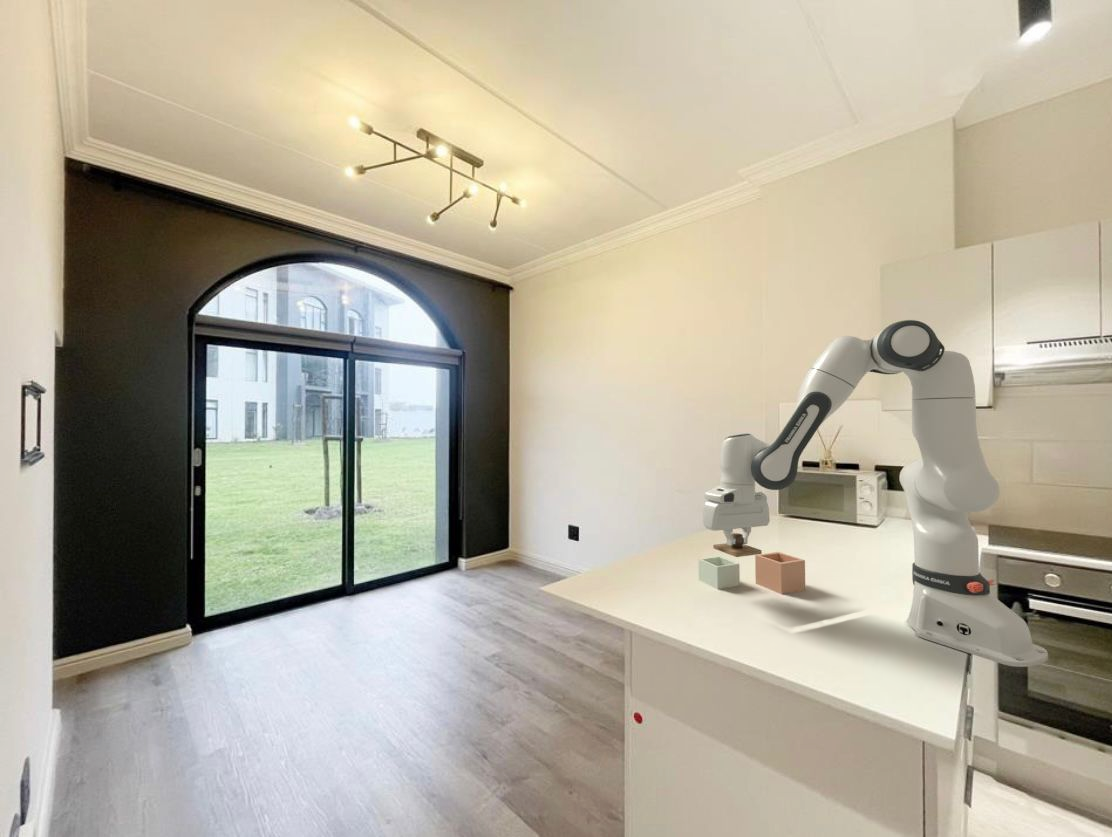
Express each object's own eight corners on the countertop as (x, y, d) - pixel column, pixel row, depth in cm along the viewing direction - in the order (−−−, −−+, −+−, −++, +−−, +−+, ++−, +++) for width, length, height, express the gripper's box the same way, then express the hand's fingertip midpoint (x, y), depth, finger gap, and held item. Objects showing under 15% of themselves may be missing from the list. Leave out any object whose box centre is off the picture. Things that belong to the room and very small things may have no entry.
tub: (739, 588, 127) (739, 563, 127) (717, 591, 124) (717, 567, 124) (720, 579, 134) (719, 556, 135) (698, 582, 132) (698, 559, 132)
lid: (761, 553, 117) (761, 537, 117) (736, 557, 114) (736, 539, 114) (737, 545, 125) (737, 529, 125) (713, 548, 122) (713, 532, 122)
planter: (805, 592, 123) (804, 560, 124) (781, 597, 120) (781, 563, 120) (778, 581, 132) (778, 551, 132) (755, 586, 128) (755, 555, 129)
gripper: (757, 489, 127) (757, 538, 126) (699, 493, 119) (699, 544, 119) (775, 493, 121) (775, 543, 120) (715, 496, 113) (715, 550, 113)
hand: (737, 544), depth 120 cm, fingers closed on lid, 3 cm apart
